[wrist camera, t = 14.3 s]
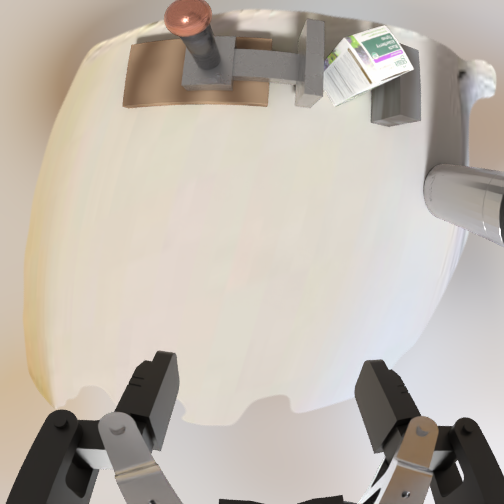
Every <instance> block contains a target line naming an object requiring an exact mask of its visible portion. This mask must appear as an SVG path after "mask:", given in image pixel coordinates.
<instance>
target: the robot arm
mask: <svg viewBox="0 0 504 504" xmlns="http://www.w3.org/2000/svg"><path fill="white" fill-rule="evenodd" d="M424 199H425V203H426V205H427V208H428V210H429V211H430V212H431V214H433V215H434V216H435V217H437V218H439V219H442V220H444V221H447V222H449V223H451V224H454V225H456V226H458V227H461V228H463V229H465V230H468V231H470V232H472V233H475V234H477V235H479V236H482V237H484V238H486V239H488V240H490V241H492V242H494V243H497V244H498V245H501V246H503V247H504V172H501V171H496V170H489V169H482V168H475V167H468V166H460V165H451V164H439V165H437V166H435V167H433V169H432V170H431V171H430V172H429V174H428V175H427V178H426V180H425V185H424ZM404 385H405V384H404V383H403V381H402V379H401V377H400V376H399V375H398V374H397V373H395V372H394V371H393V370H388V368H387V366H386V364H385V362H384V361H383V360H367V361H365V362H364V364H363V367H362V370H361V372H360V375H359V378H358V380H357V383H356V385H355V398H356V401H357V404H358V407H359V410H360V413H361V415H362V418H363V421H364V424H365V427H366V430H367V433H368V436H369V439H370V442H371V445H372V448H373V451H374V453H380V452H384V454H385V457H384V458H383V460H382V462H381V464H380V466H379V468H378V470H377V472H376V474H375V476H374V478H373V480H372V482H371V484H370V485H369V488H368V489H367V491H366V492H365V494H364V495H363V496H362V498H361V499H360V500H359V502H358V503H353V502H347V501H343V496H342V495H340V496H333V497H325V498H316V499H312V500H308V501H305V502H301V503H298V504H423V503H424V500H425V497H426V494H427V492H428V488H429V486H430V488H431V491H432V494H433V497H434V501H435V504H504V476H503V474H502V471H501V469H500V467H499V465H498V463H497V461H496V459H495V456H494V454H493V453H492V450H491V448H490V446H489V445H488V443H487V440H486V439H485V437H484V435H483V433H482V431H481V429H480V427H479V426H478V424H477V423H476V422H475V421H474V420H472V419H470V418H461V419H459V420H457V422H456V423H455V424H454V425H453V426H437V424H436V423H435V422H434V421H433V420H432V419H430V418H428V417H425V416H421V414H420V412H419V410H418V409H417V406H416V405H415V403H414V401H413V399H412V397H411V395H410V393H408V390H407V388H406V386H404ZM178 390H179V373H178V365H177V357H176V354H175V353H172V352H165V351H157V352H156V354H155V357H154V359H153V361H146V360H145V361H144V362H142V363H141V364H140V365H139V366H138V367H136V369H135V371H134V373H133V375H132V378H131V379H130V381H129V385H127V387H126V389H125V391H124V393H123V395H122V397H121V399H120V401H119V403H118V405H117V408H116V409H115V411H114V412H112V413H109V414H106V415H105V416H103V417H102V418H101V420H97V421H92V420H77V418H76V416H75V415H74V414H73V413H72V412H70V411H67V410H56V411H54V412H52V413H51V414H49V416H48V417H47V418H46V420H45V422H44V424H43V426H42V427H41V429H40V431H39V433H38V435H37V437H36V439H35V441H34V443H33V445H32V446H31V449H30V450H29V452H28V454H27V456H26V459H25V461H24V463H23V465H22V467H21V469H20V471H19V473H18V476H17V478H16V480H15V482H14V485H13V487H12V489H11V492H10V494H9V497H8V499H7V502H6V504H89V502H90V498H91V495H92V492H93V488H94V485H95V482H96V479H97V475H98V472H99V469H114V472H115V479H116V482H117V484H118V486H119V488H120V490H121V492H122V495H123V497H124V499H125V501H126V502H127V504H182V502H181V500H180V499H179V497H178V496H177V494H176V493H175V491H174V490H173V488H172V487H171V485H170V484H169V482H168V480H167V479H166V477H165V476H164V474H163V472H162V471H161V469H160V467H159V466H158V464H157V463H156V462H155V460H154V459H153V457H152V455H151V453H152V450H158V451H161V448H162V445H163V442H164V438H165V435H166V431H167V428H168V424H169V421H170V417H171V414H172V411H173V407H174V404H175V401H176V397H177V394H178ZM457 460H458V461H459V464H460V466H461V469H462V471H463V474H464V481H462V478H461V476H460V473H459V471H458V468H457V466H456V463H455V462H456V461H457ZM219 504H262V503H258V502H254V501H243V500H242V501H241V500H227V499H219Z"/></svg>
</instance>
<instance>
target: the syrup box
mask: <svg viewBox="0 0 504 504" xmlns="http://www.w3.org/2000/svg"><path fill="white" fill-rule="evenodd" d="M411 70H414V68H413V66H412V64H411V62H410V61H409V59H408V57H407V55H406V53H405V52H404V50H403V48H402V47H401V45H400V44H399V42H398V41H397V39H396V38H395V37H394V35H393V34H392V33H391V32H390V30H389V29H388V28H387V27H386V26H385V25H383V26H379V27H376V28H372V29H369V30H366V31H362V32H359V33H356V34H353V35H350V36H347V37H344V38H343V39H342V40H341V41H340V42H339V44H338V45H337V46H336V47H335V48H334V50H333V51H332V52H331V53H330V54H329V56H328V57H327V58H326V59H325V61H324V80H323V89H324V91H325V92H326V94H327V95H328V97H329V98H330V100H331V101H332V103H333V105H334V106H335V107H336V106H338V105H340V104H342V103H344V102H346V101H348V100H351V99H353V98H355V97H357V96H359V95H361V94H363V93H365V92H367V91H369V90H371V89H373V88H375V87H377V86H379V85H382V84H384V83H386V82H388V81H390V80H392V79H394V78H396V77H398V76H400V75H402V74H404V73H407V72H409V71H411Z"/></svg>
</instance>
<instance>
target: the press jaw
mask: <svg viewBox="0 0 504 504" xmlns="http://www.w3.org/2000/svg"><path fill="white" fill-rule="evenodd" d="M211 19H212V11H211V8H210V6H209V5H208V3H207V2H205V1H204V0H176V1H175V2H173V3H172V4H171V5H170V6H169V7H168V8H167V10H166V12H165V15H164V22H165V25H166V27H167V29H168V30H169V31H170V32H171V33H173V34H175V35H177V36H180V38H181V40H182V41H183V43H184V44H185V46H186V52H185V60H184V67H183V76H182V84H181V85H182V86H183V87H184V88H185V89H186V90H187V91H194V90H227V91H233V82H234V80H239V81H258V82H271V83H282V84H291V85H296V94H295V106H298V107H306V108H311V107H312V106H313V105H314V104H315V103H316V102H317V101H318V100H320V99H321V98H322V97H323V80H324V21H318V20H312V19H307V20H306V22H305V25H304V27H303V30H302V32H301V35H300V37H299V40H298V54H296V53H288V52H279V51H268V50H253V49H237V42H236V36H214V35H213V32H212V29H211V26H210V22H211Z"/></svg>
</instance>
